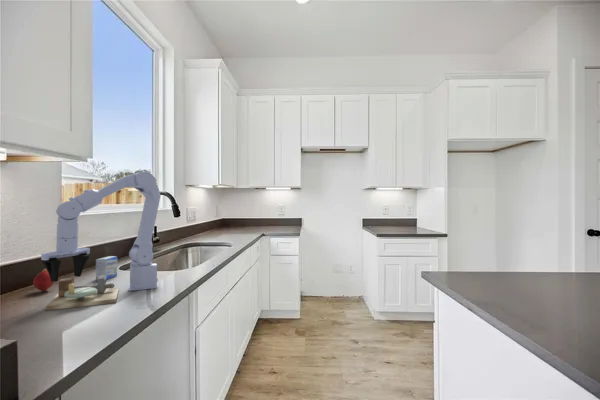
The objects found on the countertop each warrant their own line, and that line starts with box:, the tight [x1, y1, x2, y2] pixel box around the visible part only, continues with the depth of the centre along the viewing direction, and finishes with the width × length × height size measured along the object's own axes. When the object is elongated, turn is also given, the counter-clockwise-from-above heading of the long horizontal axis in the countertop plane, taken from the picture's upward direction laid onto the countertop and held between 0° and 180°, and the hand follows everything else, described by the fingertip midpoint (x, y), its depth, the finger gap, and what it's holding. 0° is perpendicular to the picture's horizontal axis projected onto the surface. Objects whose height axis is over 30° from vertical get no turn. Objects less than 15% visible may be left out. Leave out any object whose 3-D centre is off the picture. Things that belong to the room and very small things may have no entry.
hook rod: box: [57, 277, 115, 297], centre depth 106 cm, size 16×4×5 cm, turn 117°
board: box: [45, 287, 120, 311], centre depth 103 cm, size 18×14×1 cm
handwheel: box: [64, 283, 97, 300], centre depth 100 cm, size 8×8×6 cm
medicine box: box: [95, 255, 118, 281], centre depth 134 cm, size 8×4×9 cm, turn 179°
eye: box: [96, 275, 107, 295], centre depth 108 cm, size 2×6×5 cm, turn 27°
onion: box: [32, 268, 55, 292], centre depth 112 cm, size 6×6×8 cm
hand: (66, 278), depth 104 cm, fingers open, 7 cm apart
